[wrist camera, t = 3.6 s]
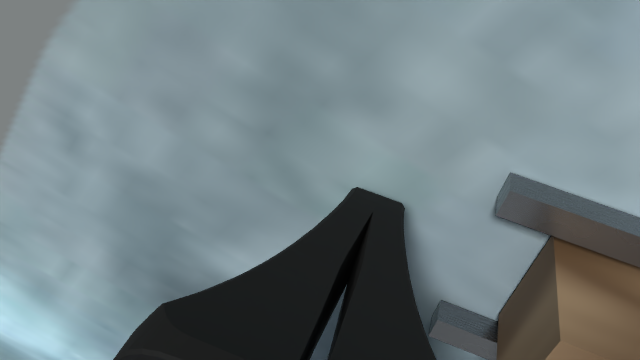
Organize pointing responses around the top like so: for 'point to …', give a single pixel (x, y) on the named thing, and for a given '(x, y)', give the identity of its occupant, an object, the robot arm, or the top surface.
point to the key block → (572, 308)
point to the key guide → (553, 219)
